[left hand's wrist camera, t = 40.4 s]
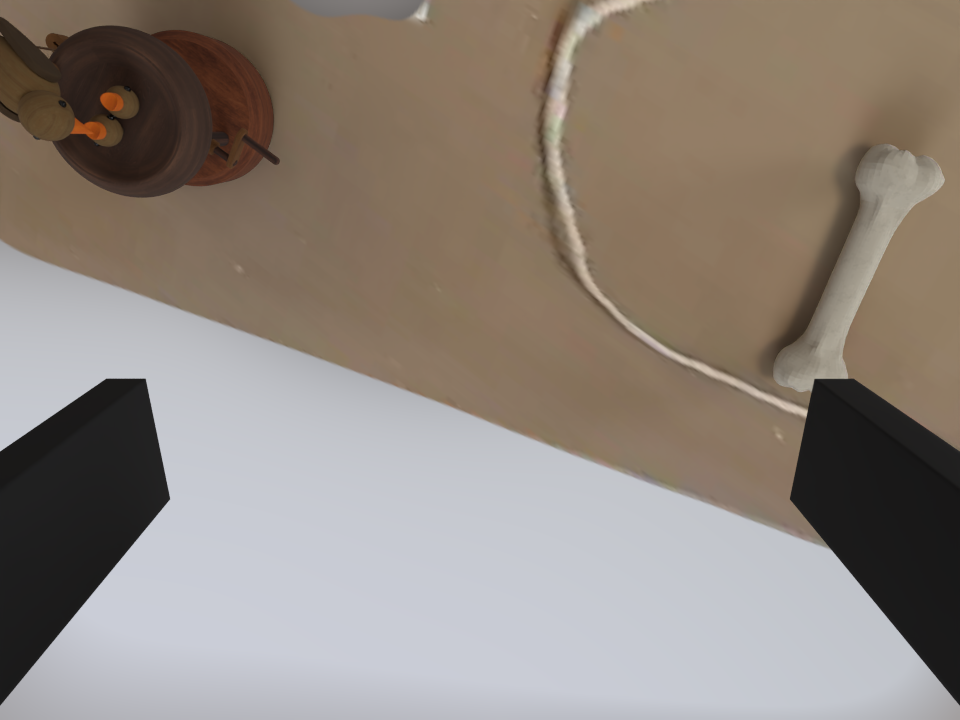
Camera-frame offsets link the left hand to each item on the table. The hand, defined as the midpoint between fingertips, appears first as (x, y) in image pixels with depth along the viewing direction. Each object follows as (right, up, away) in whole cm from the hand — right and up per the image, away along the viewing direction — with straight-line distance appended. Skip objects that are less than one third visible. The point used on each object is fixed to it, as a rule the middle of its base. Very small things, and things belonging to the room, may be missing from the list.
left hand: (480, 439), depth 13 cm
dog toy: (+30, +9, +40) cm, 51 cm away
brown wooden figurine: (-20, +20, +36) cm, 46 cm away
